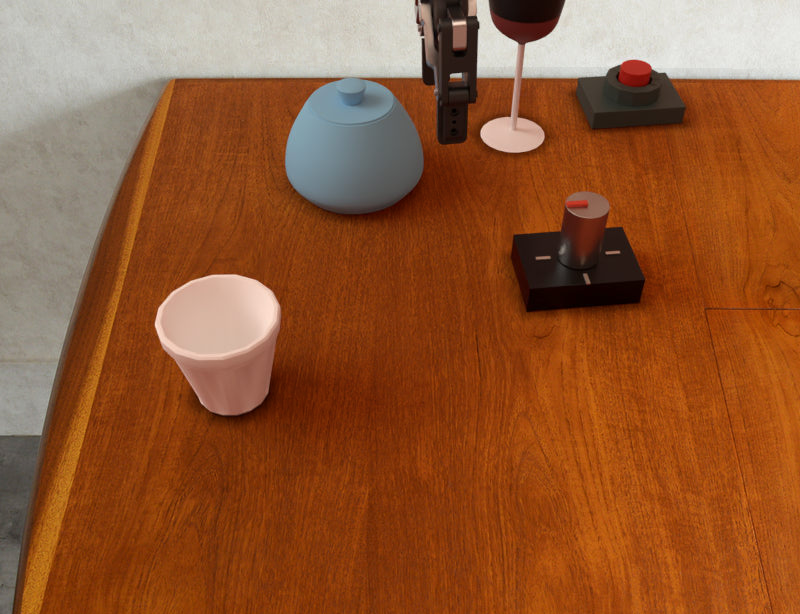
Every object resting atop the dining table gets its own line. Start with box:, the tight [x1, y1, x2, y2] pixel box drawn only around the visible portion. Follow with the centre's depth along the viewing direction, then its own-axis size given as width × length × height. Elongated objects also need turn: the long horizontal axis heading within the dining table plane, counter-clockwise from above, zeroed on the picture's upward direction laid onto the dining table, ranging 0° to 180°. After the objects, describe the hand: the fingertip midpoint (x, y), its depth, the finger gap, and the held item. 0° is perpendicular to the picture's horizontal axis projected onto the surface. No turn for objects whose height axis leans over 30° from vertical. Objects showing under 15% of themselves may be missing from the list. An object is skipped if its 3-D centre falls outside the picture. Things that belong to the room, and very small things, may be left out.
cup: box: [154, 273, 282, 417], centre depth 75 cm, size 10×10×9 cm
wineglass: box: [480, 0, 566, 154], centre depth 97 cm, size 8×9×20 cm
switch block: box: [575, 63, 687, 130], centre depth 107 cm, size 11×8×4 cm
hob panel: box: [510, 226, 646, 313], centre depth 87 cm, size 11×8×3 cm
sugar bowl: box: [284, 77, 425, 215], centre depth 94 cm, size 15×15×12 cm
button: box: [618, 59, 653, 87], centre depth 105 cm, size 4×4×2 cm
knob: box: [557, 190, 611, 269], centre depth 83 cm, size 4×4×6 cm
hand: (443, 110), depth 70 cm, fingers open, 8 cm apart
